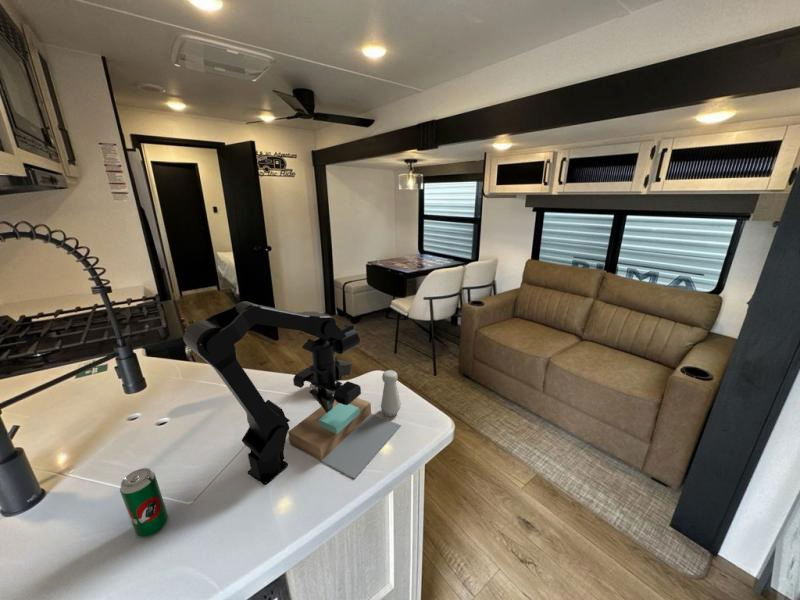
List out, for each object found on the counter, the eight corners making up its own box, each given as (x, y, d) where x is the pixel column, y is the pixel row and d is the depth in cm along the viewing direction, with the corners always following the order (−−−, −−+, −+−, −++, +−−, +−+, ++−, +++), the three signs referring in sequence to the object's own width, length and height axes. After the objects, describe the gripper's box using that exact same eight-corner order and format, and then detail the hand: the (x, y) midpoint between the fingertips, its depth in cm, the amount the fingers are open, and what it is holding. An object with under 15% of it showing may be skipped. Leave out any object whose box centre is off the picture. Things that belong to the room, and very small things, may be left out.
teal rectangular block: (336, 434, 79) (336, 427, 78) (319, 426, 82) (318, 419, 81) (359, 414, 86) (359, 407, 85) (342, 407, 89) (342, 400, 88)
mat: (354, 479, 71) (354, 478, 71) (321, 461, 76) (321, 460, 76) (400, 426, 87) (400, 425, 87) (371, 414, 92) (371, 413, 92)
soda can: (174, 513, 64) (160, 465, 60) (157, 538, 59) (140, 489, 55) (149, 514, 64) (132, 466, 60) (129, 540, 59) (110, 490, 55)
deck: (321, 461, 76) (320, 448, 74) (290, 444, 81) (288, 431, 80) (371, 414, 92) (370, 402, 91) (342, 402, 97) (341, 391, 96)
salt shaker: (403, 415, 91) (403, 375, 87) (385, 420, 89) (383, 380, 85) (396, 404, 96) (395, 365, 92) (378, 408, 94) (376, 370, 90)
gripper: (372, 355, 83) (374, 406, 88) (319, 341, 92) (324, 387, 97) (344, 375, 74) (348, 431, 78) (288, 357, 83) (295, 407, 88)
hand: (328, 412), depth 86 cm, fingers closed
